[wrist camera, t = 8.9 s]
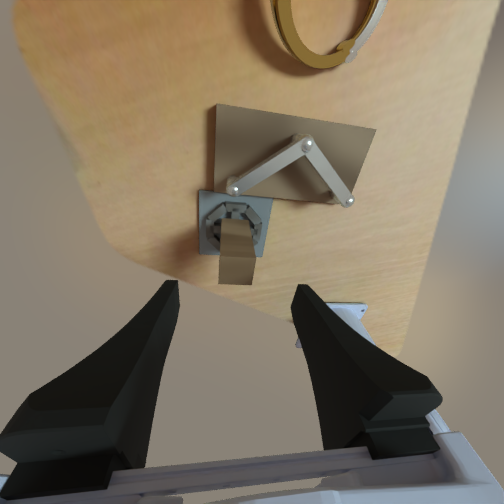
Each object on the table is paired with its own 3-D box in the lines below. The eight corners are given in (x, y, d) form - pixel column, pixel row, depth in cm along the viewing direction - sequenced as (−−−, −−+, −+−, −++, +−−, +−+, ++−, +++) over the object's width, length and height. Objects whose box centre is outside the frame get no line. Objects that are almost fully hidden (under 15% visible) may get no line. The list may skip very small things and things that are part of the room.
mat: (261, 255, 23) (262, 257, 22) (199, 252, 22) (199, 254, 21) (272, 196, 19) (273, 197, 19) (199, 189, 18) (199, 190, 18)
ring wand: (256, 251, 22) (266, 298, 16) (206, 248, 21) (199, 297, 15) (264, 204, 19) (279, 242, 13) (206, 199, 18) (198, 236, 13)
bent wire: (334, 195, 20) (354, 210, 17) (225, 184, 18) (225, 198, 15) (353, 139, 17) (381, 145, 14) (229, 120, 16) (230, 122, 12)
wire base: (342, 201, 20) (347, 204, 19) (214, 188, 18) (213, 191, 17) (369, 128, 17) (376, 129, 16) (217, 104, 15) (216, 103, 14)
